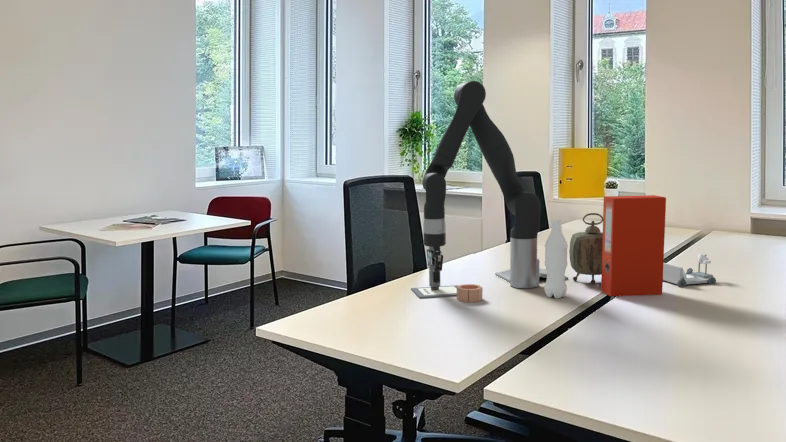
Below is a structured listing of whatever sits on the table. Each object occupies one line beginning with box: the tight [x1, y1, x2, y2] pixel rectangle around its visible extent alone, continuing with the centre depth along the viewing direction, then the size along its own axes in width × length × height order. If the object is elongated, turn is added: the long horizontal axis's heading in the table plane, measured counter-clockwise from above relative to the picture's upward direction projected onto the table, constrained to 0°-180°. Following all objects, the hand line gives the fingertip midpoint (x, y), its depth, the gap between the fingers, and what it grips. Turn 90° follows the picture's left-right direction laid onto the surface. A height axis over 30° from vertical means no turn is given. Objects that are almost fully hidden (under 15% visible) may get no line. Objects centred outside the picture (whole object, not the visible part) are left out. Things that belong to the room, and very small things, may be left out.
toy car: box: [663, 253, 717, 288], centre depth 221 cm, size 18×10×12 cm
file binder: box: [600, 194, 667, 298], centre depth 205 cm, size 8×17×32 cm, turn 95°
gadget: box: [494, 267, 569, 284], centre depth 234 cm, size 22×6×15 cm
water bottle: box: [543, 219, 569, 299], centre depth 203 cm, size 7×7×25 cm
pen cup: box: [456, 283, 483, 303], centre depth 203 cm, size 8×8×4 cm
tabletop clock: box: [568, 212, 603, 285], centre depth 221 cm, size 14×9×25 cm, turn 84°
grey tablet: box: [410, 284, 459, 299], centre depth 213 cm, size 17×13×1 cm
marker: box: [428, 253, 441, 290], centre depth 214 cm, size 4×4×12 cm
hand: (435, 280), depth 214 cm, fingers closed on marker, 3 cm apart
